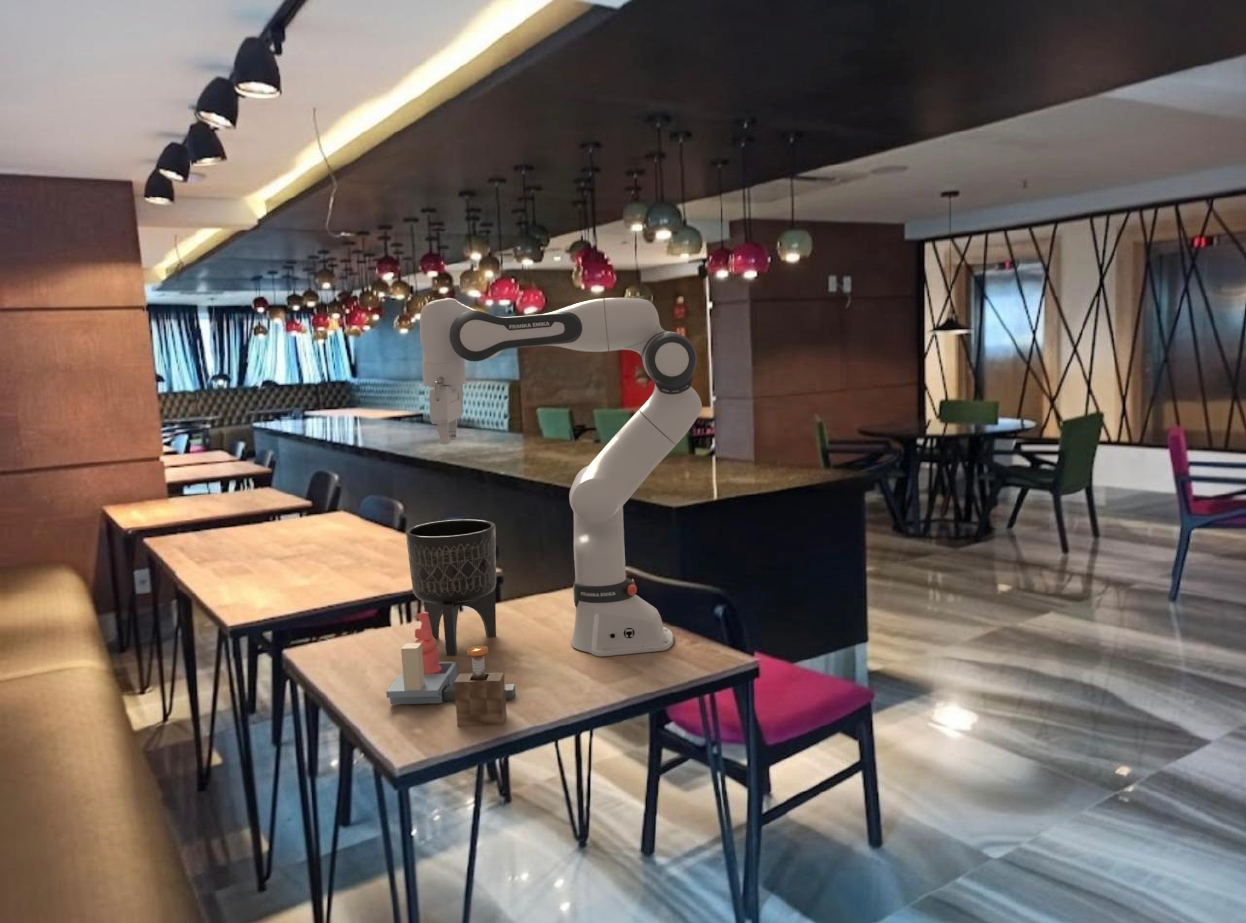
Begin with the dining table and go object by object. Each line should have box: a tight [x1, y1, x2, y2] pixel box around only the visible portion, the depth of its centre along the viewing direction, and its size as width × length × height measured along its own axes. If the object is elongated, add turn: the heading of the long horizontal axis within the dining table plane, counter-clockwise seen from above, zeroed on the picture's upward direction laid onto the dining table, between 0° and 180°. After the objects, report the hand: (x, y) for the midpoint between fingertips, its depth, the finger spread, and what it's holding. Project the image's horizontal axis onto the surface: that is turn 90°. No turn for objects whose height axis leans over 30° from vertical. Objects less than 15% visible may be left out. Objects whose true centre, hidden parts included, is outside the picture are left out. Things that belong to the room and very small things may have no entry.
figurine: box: [413, 611, 442, 674], centre depth 176 cm, size 5×5×15 cm
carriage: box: [386, 642, 459, 705], centre depth 173 cm, size 10×16×11 cm, turn 178°
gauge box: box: [453, 672, 507, 727], centre depth 159 cm, size 8×4×8 cm, turn 88°
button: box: [466, 645, 489, 681], centre depth 158 cm, size 4×4×7 cm
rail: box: [442, 683, 516, 703], centre depth 170 cm, size 22×3×2 cm, turn 88°
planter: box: [405, 518, 497, 657], centre depth 201 cm, size 20×20×26 cm
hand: (448, 441), depth 192 cm, fingers open, 8 cm apart
